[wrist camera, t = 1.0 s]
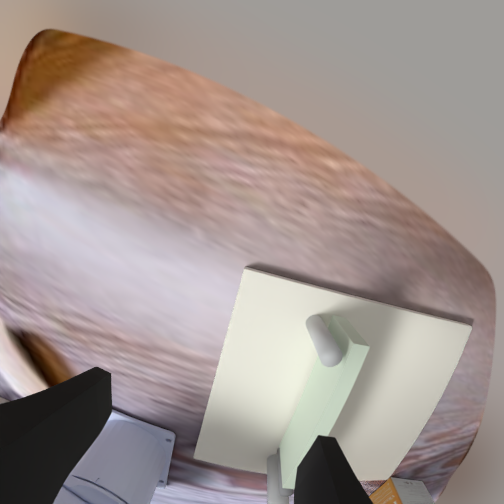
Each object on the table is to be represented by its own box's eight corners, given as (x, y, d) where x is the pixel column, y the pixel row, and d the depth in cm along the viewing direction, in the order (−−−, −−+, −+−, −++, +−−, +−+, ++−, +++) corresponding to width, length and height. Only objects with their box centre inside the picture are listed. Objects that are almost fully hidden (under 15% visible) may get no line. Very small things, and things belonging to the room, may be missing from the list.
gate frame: (384, 474, 23) (402, 514, 16) (194, 451, 23) (180, 501, 16) (466, 323, 21) (511, 348, 14) (244, 266, 21) (238, 287, 14)
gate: (286, 455, 21) (290, 497, 16) (275, 453, 21) (277, 496, 16) (345, 318, 19) (369, 346, 15) (332, 314, 19) (353, 343, 15)
